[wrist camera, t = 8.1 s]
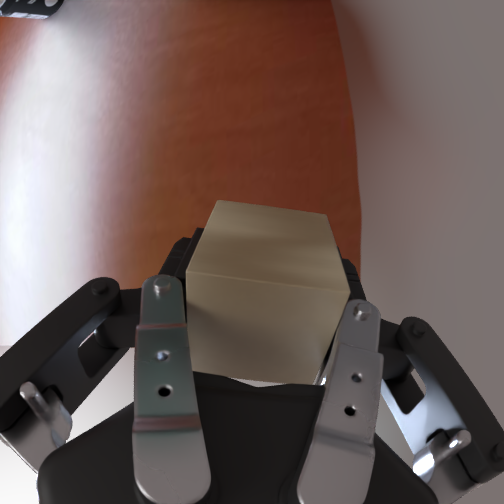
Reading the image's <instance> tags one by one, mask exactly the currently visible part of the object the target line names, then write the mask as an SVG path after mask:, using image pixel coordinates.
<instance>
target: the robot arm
mask: <svg viewBox="0 0 504 504" xmlns="http://www.w3.org/2000/svg"><path fill="white" fill-rule="evenodd" d="M204 229H205V228H197V229H196V230H195V233H194V235H193V237H192V238H185V237H183V238H182V239H180V240H179V241H177V242H176V243H175V244H174V246H173V248H172V250H171V251H170V253H169V255H168V257H167V259H166V261H165V262H164V264H163V266H162V268H161V270H160V272H159V274H158V275H155V276H152V277H150V278H148V279H147V280H145V282H144V283H143V285H142V288H138V289H125V290H120V287H119V284H118V282H117V281H116V280H114V279H112V278H108V277H100V278H95V279H93V280H90V281H89V282H87V283H86V284H85V285H83V286H82V287H81V288H80V289H78V290H77V291H76V292H75V293H73V294H72V295H71V296H70V297H69V298H67V299H66V300H65V301H64V302H63V303H61V304H60V305H59V306H58V307H56V308H55V309H54V310H53V311H52V312H51V313H49V314H48V315H47V316H46V317H45V318H43V319H42V320H41V321H40V322H39V323H38V324H37V325H35V326H34V327H33V328H32V329H31V330H30V331H29V332H27V333H26V334H25V335H24V336H23V337H22V338H21V339H20V340H18V341H17V342H16V343H15V344H14V345H13V346H12V347H11V348H10V349H9V350H7V351H6V352H5V353H4V354H3V355H2V356H1V357H0V440H1V441H2V442H3V443H5V444H6V445H7V446H9V447H10V448H12V449H13V450H14V452H15V453H16V454H17V455H18V456H19V457H20V458H21V459H22V460H23V461H24V462H25V463H26V464H27V465H28V466H29V467H30V468H31V469H32V470H33V471H34V472H35V473H37V480H36V486H37V487H36V489H37V495H38V500H39V504H452V503H454V502H455V501H457V500H458V499H459V498H461V497H462V496H464V495H465V494H467V493H469V492H471V491H473V490H474V489H476V488H478V487H480V486H481V485H483V484H485V483H486V482H488V481H489V480H491V479H492V478H494V477H496V476H497V475H499V474H500V473H502V472H503V471H504V431H503V429H502V427H501V426H500V424H499V423H498V421H497V419H496V418H495V416H494V415H493V413H492V412H491V410H490V408H489V407H488V405H487V404H486V402H485V401H484V399H483V398H482V397H481V395H480V393H479V392H478V390H477V389H476V387H475V386H474V385H473V383H472V382H471V381H470V379H469V377H468V376H467V374H466V373H465V372H464V370H463V369H462V367H461V366H460V365H459V363H458V362H457V361H456V359H455V358H454V356H453V355H452V354H451V352H450V351H449V350H448V349H447V347H446V346H445V344H444V343H443V342H442V340H441V339H440V338H439V337H438V335H437V334H436V333H435V331H434V330H433V329H432V327H431V326H430V325H429V324H428V323H427V322H425V321H424V320H422V319H420V318H417V317H406V318H404V319H403V321H402V323H401V324H400V325H398V324H394V323H391V322H388V321H386V320H383V319H381V315H380V312H379V310H378V309H377V308H376V307H375V306H374V305H373V304H371V303H370V302H368V301H367V300H366V297H365V294H364V291H363V288H362V285H361V282H360V279H359V276H358V274H357V271H356V268H355V266H354V265H353V264H352V263H351V262H350V261H349V260H348V259H342V257H341V254H340V251H339V248H338V246H337V249H338V252H339V255H340V259H341V262H342V265H343V268H344V272H345V275H346V278H347V282H348V285H349V288H350V295H349V298H348V301H347V303H346V306H345V309H344V311H343V314H342V316H341V319H340V321H339V324H338V326H337V329H336V331H335V334H334V336H333V339H332V341H331V344H330V346H329V348H328V351H327V353H326V355H325V358H324V360H323V362H322V364H321V367H320V371H319V374H318V377H317V381H316V384H315V385H309V384H294V383H291V384H283V385H276V386H267V387H254V386H251V385H248V384H245V383H242V382H239V381H237V380H234V379H231V378H228V377H226V376H222V375H215V374H209V373H203V372H197V371H192V363H191V356H190V348H189V339H188V331H187V302H186V270H187V268H188V265H189V263H190V261H191V258H192V256H193V254H194V252H195V249H196V247H197V245H198V242H199V240H200V238H201V236H202V233H203V231H204ZM92 332H94V333H93V334H92V335H91V336H90V337H89V338H88V339H87V340H86V341H85V342H84V343H83V344H82V345H81V346H80V344H81V343H82V342H83V341H84V340H85V339H86V338H87V337H88V336H89V335H90V334H91V333H92ZM79 346H80V347H79ZM130 347H135V356H134V402H132V403H131V404H129V405H128V406H126V407H125V408H123V409H121V410H120V411H118V412H117V413H115V414H113V415H112V416H110V417H109V418H107V419H105V420H104V421H102V422H101V423H99V424H97V425H96V426H94V427H93V428H91V429H89V430H88V431H86V432H84V433H83V434H81V435H79V436H78V437H76V438H74V439H73V440H71V441H69V442H67V443H66V440H67V439H68V438H69V436H70V432H71V429H72V418H71V415H72V414H73V413H74V412H75V410H76V409H77V408H78V407H79V406H80V405H81V404H82V402H83V401H84V400H85V399H86V398H87V397H88V395H89V394H90V393H91V392H92V391H93V390H94V389H95V387H96V386H97V385H98V384H99V383H100V382H101V381H102V379H103V378H104V377H105V376H106V375H107V374H108V372H109V371H110V370H111V369H112V368H113V367H114V366H115V364H116V363H117V362H118V361H119V360H120V359H121V358H122V357H123V356H124V355H125V353H126V352H127V351H128V350H129V348H130ZM414 368H415V369H416V371H417V373H418V374H419V376H420V377H421V379H422V380H423V382H424V383H425V386H426V394H425V396H424V394H423V392H422V391H421V390H420V388H419V386H418V384H417V383H416V381H415V380H414V378H413V376H412V375H411V372H412V371H413V369H414ZM380 392H381V394H382V395H383V397H384V399H385V401H386V403H387V404H388V406H389V408H390V410H391V412H392V414H393V416H394V418H395V419H396V421H397V423H398V425H399V427H400V429H401V431H402V433H403V435H404V437H405V438H406V440H407V442H408V444H409V446H410V448H411V450H412V452H413V454H414V460H413V468H412V469H411V468H410V467H409V466H408V465H407V464H406V463H405V462H404V461H403V460H402V459H401V458H400V457H399V456H398V455H397V454H396V453H395V452H394V451H393V450H392V449H391V448H390V447H389V446H388V445H387V444H386V443H385V442H384V441H383V440H382V439H381V438H380V437H379V436H378V435H377V434H376V433H375V427H376V419H377V413H378V406H379V399H380ZM65 443H66V444H65Z"/></svg>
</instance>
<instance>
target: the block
mask: <svg viewBox="0 0 504 504" xmlns="http://www.w3.org/2000/svg"><path fill="white" fill-rule="evenodd" d="M349 295H350V288H349V285H348V282H347V278H346V275H345V272H344V268H343V265H342V262H341V259H340V255H339V252H338V249H337V246H336V243H335V240H334V237H333V234H332V231H331V228H330V225H329V222H328V219H327V216H326V215H324V214H318V213H311V212H305V211H298V210H291V209H284V208H277V207H269V206H262V205H254V204H247V203H239V202H230V201H222V200H217V203H216V205H215V207H214V209H213V211H212V213H211V216H210V218H209V220H208V222H207V224H206V227H205V229H204V231H203V233H202V236H201V238H200V240H199V242H198V245H197V247H196V249H195V252H194V254H193V256H192V258H191V261H190V263H189V265H188V268H187V270H186V302H187V330H188V339H189V348H190V356H191V363H192V371H197V372H203V373H209V374H215V375H222V376H226V377H230V378H237V379H245V380H254V381H263V382H273V383H284V384H291V383H294V384H309V385H312V384H313V382H314V380H315V378H316V375H317V373H318V371H319V369H320V367H321V364H322V362H323V360H324V358H325V355H326V353H327V351H328V348H329V346H330V344H331V341H332V339H333V336H334V334H335V331H336V329H337V326H338V324H339V321H340V319H341V316H342V314H343V311H344V309H345V306H346V303H347V301H348V298H349Z"/></svg>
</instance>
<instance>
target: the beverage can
mask: <svg viewBox="0 0 504 504" xmlns="http://www.w3.org/2000/svg"><path fill="white" fill-rule="evenodd" d="M63 1H64V0H0V16H5V17H23V18H35V19H44V18H47V17H49V16H51V15H52V14H53V13H54V12H56V11H57V10H58V8H59V7H60V6H61V4H62V3H63Z"/></svg>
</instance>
